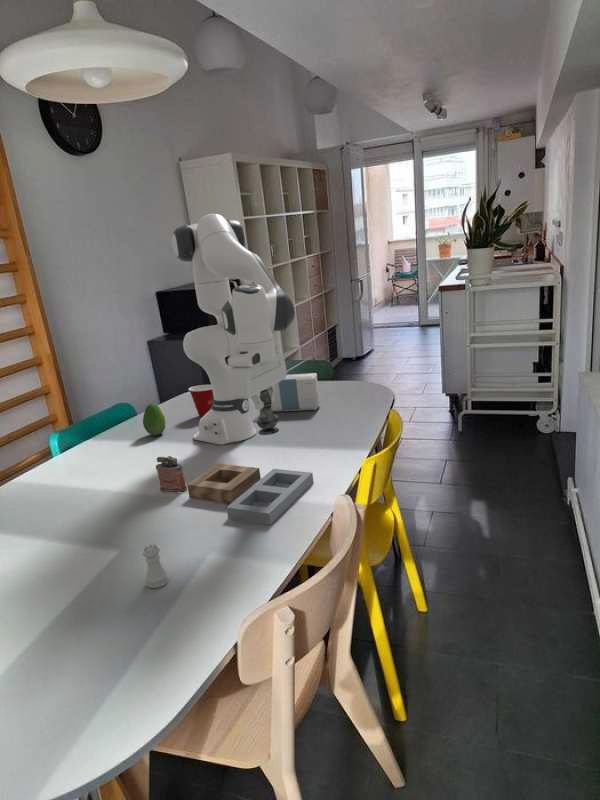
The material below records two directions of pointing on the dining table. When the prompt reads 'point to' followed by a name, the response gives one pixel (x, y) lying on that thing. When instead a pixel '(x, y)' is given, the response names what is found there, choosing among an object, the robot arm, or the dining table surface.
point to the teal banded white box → (296, 392)
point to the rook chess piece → (154, 568)
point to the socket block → (223, 483)
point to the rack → (270, 496)
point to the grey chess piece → (267, 416)
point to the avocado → (154, 420)
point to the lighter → (170, 475)
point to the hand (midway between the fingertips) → (265, 405)
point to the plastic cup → (202, 398)
